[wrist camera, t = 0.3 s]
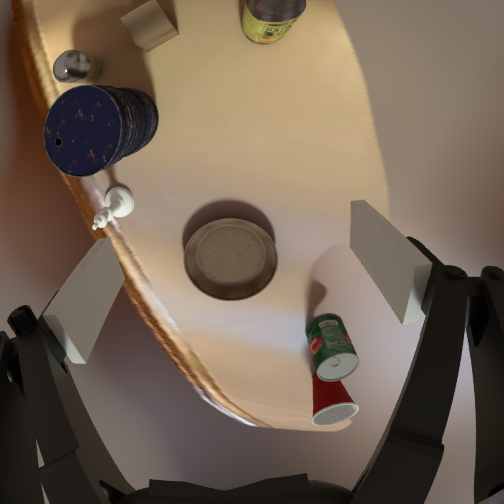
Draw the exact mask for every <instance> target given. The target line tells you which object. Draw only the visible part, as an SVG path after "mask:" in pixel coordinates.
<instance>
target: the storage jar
mask: <svg viewBox="0 0 504 504" xmlns="http://www.w3.org/2000/svg"><path fill="white" fill-rule="evenodd" d="M158 121H159V116H158V110H157V107H156V105H155V103H154V101H153V100H152V99H151V98H150V97H149V96H148V95H147V94H145V93H143V92H141V91H138V90H134V89H130V88H115V87H112V86H103V85H81V86H77V87H74V88H71V89H69V90H67V91H66V92H64V93H63V94H62V95H61V96H60V97H59V98H58V99H57V100H56V101H55V102H54V103H53V105H52V107H51V108H50V110H49V112H48V115H47V117H46V121H45V125H44V143H45V148H46V151H47V154H48V156H49V158H50V160H51V161H52V163H53V164H54V165H55V166H56V167H57V168H58V169H59V170H60V171H62V172H63V173H65V174H67V175H69V176H73V177H87V176H90V175H93V174H95V173H97V172H99V171H101V170H104V169H106V168H108V167H110V166H111V165H113V164H115V163H117V162H118V161H120V160H121V159H122V158H123V157H126V156H129V155H131V154H134V153H135V152H137V151H139V150H140V149H141V148H143V147H145V146H146V145H147V144H148V143H149V142H150V141H151V140H152V138H153V137H154V135H155V133H156V130H157V127H158Z"/></svg>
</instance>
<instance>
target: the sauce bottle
mask: <svg viewBox="0 0 504 504" xmlns="http://www.w3.org/2000/svg"><path fill="white" fill-rule="evenodd" d="M305 8H306V0H245V4H244V10H243V15H242V20H241V25H242V26H241V27H242V30H243V32H244V34H245V36H246V37H247V38H248V39H249V40H250V41H252V42H254V43H258V44H262V45H264V44H270V43H274V42H276V41H278V40H280V39H281V38H282V37H283V36H284V35H285V34H286V33H287V31H288V30H289V29H290V28H291V26H292V25H293V24H294V23H295V22H296V20H297V19H298V18H299V16H300V15H301V14H302V13H303V12H304V10H305Z"/></svg>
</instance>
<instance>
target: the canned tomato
mask: <svg viewBox="0 0 504 504" xmlns="http://www.w3.org/2000/svg"><path fill="white" fill-rule="evenodd" d="M305 333H306V336H307V339H308V343H309V347H310V350H311V354H312V357H313V361H314V364H315V368H316V371H317V376H318V377H319V378H320V379H321V380H324V381H337V380H341V379H343V378H346V377H348V376H349V375H351V374H352V373H353V372H354V371H355V370H356V369H357V367H358V365H359V358H358V356H357V354H356V352H355V349H354V347H353V345H352V342H351V340H350V338H349V336H348V333H347V331H346V328H345V326H344V324H343V321H342V319H341V318H340V317H339V316H338V315H336V314H332V313H326V314H322V315H319V316H317V317H315V318H313V319H312V320H311V321H310V322H309V323H308V325H307V327H306V330H305Z"/></svg>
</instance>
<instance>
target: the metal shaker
mask: <svg viewBox="0 0 504 504" xmlns="http://www.w3.org/2000/svg"><path fill="white" fill-rule="evenodd" d="M102 70H103V63H102V60H101V59H100V58H99V57H98V56H95V55H91V54H87V53H83V52H80V51H76V50H68V51H65V52H64V53H62V54H61V55H60V56H59V57H58V58H57V59H56V61H55V63H54V66H53V73H54V76H55V78H56V79H57V80H58V81H59V82H65V83H84V84H89V83H92V82H94V81H95V80H97V79H98V78H99V76H100V75H101V73H102Z"/></svg>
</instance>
